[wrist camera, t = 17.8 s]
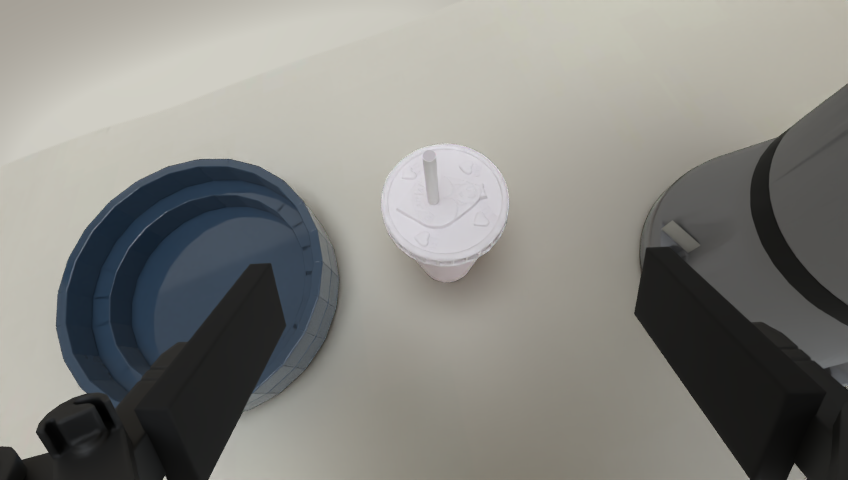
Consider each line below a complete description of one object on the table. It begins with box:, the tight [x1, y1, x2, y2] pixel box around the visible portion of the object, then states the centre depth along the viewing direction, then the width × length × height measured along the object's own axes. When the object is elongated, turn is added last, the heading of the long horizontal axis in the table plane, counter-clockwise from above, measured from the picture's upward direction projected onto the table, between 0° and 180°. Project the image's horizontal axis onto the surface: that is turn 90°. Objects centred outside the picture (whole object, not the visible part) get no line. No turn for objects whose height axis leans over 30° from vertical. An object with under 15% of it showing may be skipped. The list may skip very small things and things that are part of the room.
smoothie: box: [381, 144, 509, 282], centre depth 24 cm, size 6×6×14 cm
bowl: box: [56, 159, 339, 412], centre depth 28 cm, size 16×16×4 cm
